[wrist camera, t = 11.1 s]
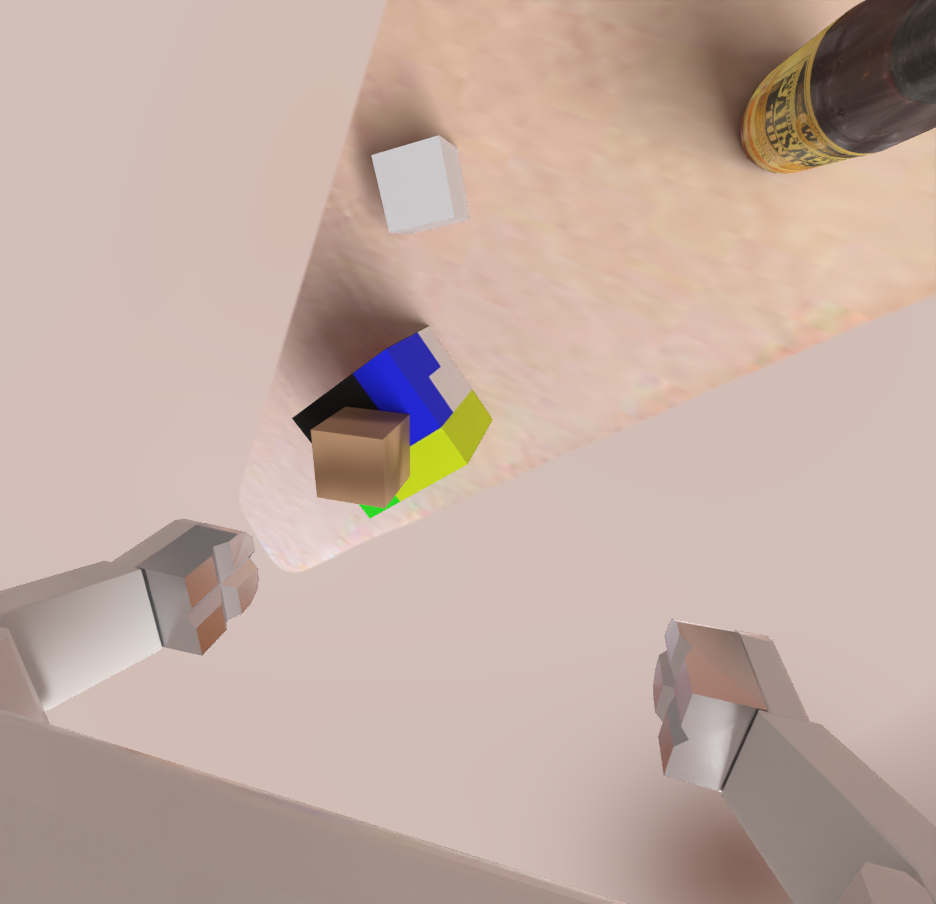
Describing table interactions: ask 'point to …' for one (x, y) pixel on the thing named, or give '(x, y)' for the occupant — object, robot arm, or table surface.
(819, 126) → the sauce bottle
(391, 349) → the puzzle toy
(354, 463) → the walnut block
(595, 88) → the table surface
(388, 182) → the grey block
